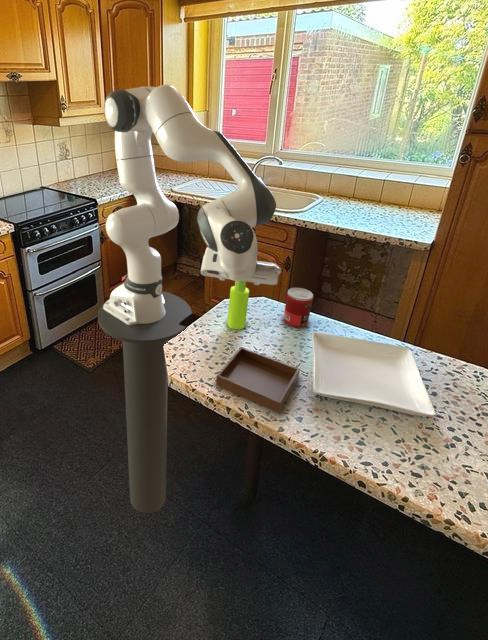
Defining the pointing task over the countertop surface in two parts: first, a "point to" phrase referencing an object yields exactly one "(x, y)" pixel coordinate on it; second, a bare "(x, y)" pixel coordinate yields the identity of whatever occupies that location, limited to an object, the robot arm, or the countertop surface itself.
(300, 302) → the canned food
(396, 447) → the countertop surface
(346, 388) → the square plate
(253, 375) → the tray
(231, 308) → the soap dispenser
